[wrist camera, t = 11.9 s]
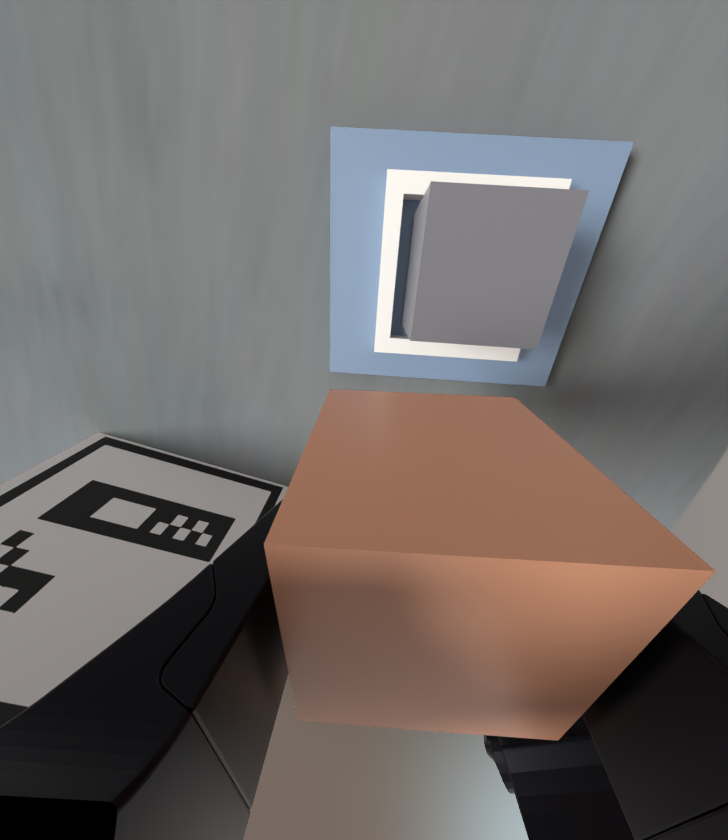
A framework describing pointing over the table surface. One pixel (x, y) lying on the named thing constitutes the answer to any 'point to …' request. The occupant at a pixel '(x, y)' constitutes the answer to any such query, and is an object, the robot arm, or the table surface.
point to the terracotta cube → (462, 569)
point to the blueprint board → (392, 230)
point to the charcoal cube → (487, 262)
